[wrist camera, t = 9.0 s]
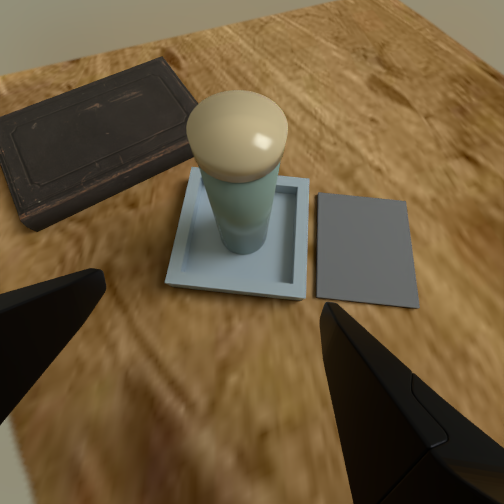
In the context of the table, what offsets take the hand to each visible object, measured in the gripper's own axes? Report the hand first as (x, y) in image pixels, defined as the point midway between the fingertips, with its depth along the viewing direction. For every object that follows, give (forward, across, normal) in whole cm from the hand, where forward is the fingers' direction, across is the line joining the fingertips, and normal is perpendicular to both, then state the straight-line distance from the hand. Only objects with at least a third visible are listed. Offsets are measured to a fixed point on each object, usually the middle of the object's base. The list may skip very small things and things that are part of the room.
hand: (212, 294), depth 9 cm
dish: (+16, 0, +4) cm, 16 cm away
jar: (+15, 0, +3) cm, 15 cm away
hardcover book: (+24, +19, -3) cm, 30 cm away
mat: (+16, -13, +3) cm, 21 cm away
